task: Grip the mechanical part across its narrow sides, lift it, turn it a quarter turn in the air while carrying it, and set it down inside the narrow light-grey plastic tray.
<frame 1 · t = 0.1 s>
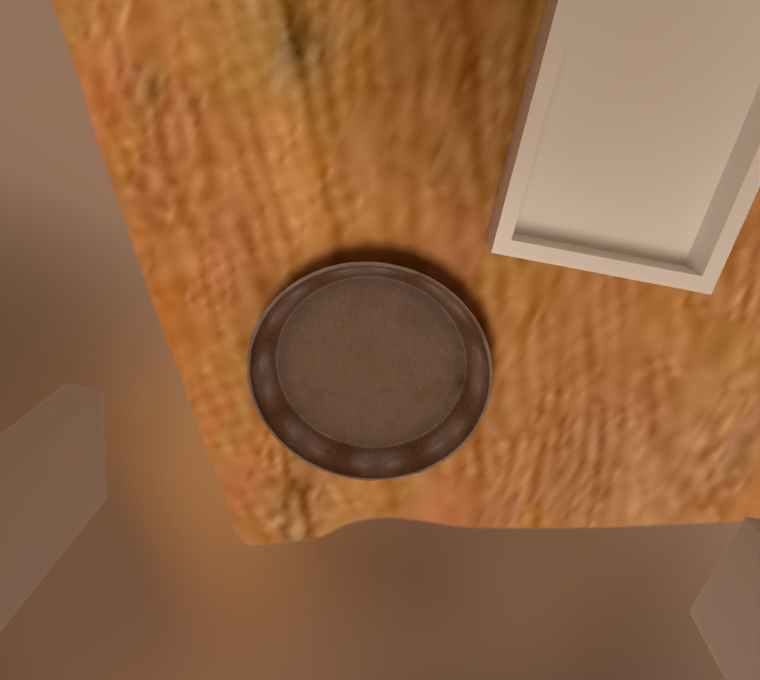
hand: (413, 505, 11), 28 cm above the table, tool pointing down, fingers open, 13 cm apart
plant saucer: (372, 362, 42), on the table
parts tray: (633, 118, 33), on the table
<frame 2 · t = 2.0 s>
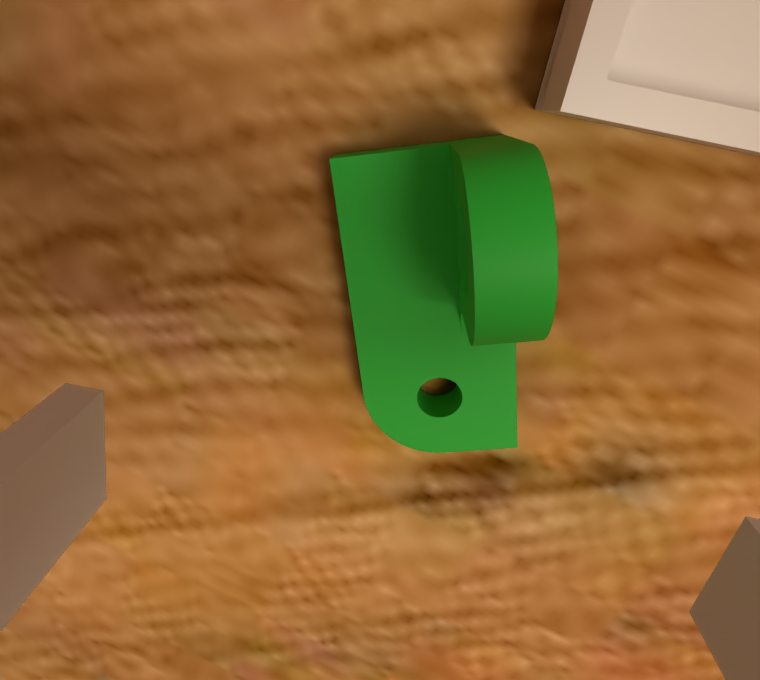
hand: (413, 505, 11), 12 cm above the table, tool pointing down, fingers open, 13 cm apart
mechanical part: (430, 298, 22), on the table
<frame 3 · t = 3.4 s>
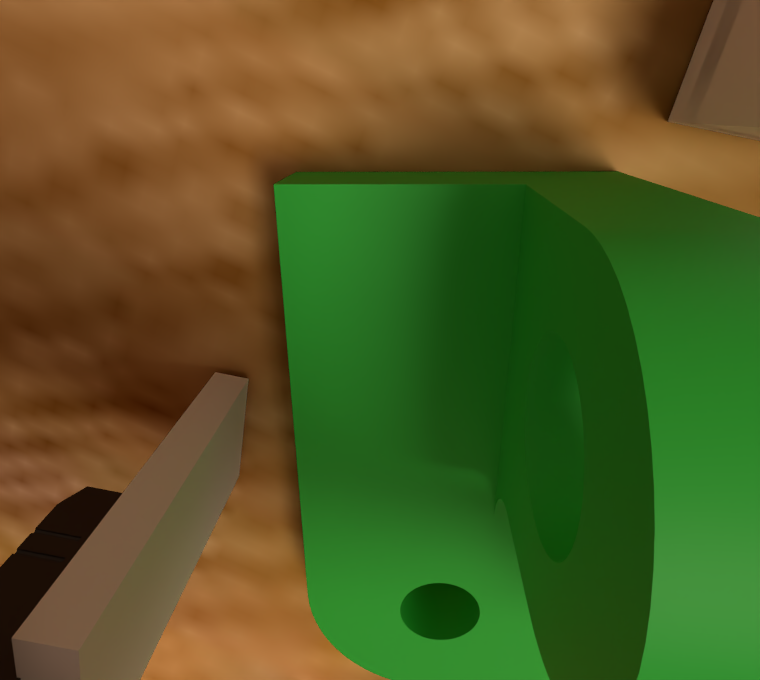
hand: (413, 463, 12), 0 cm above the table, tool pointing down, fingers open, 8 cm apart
mechanical part: (441, 431, 13), on the table, touching gripper
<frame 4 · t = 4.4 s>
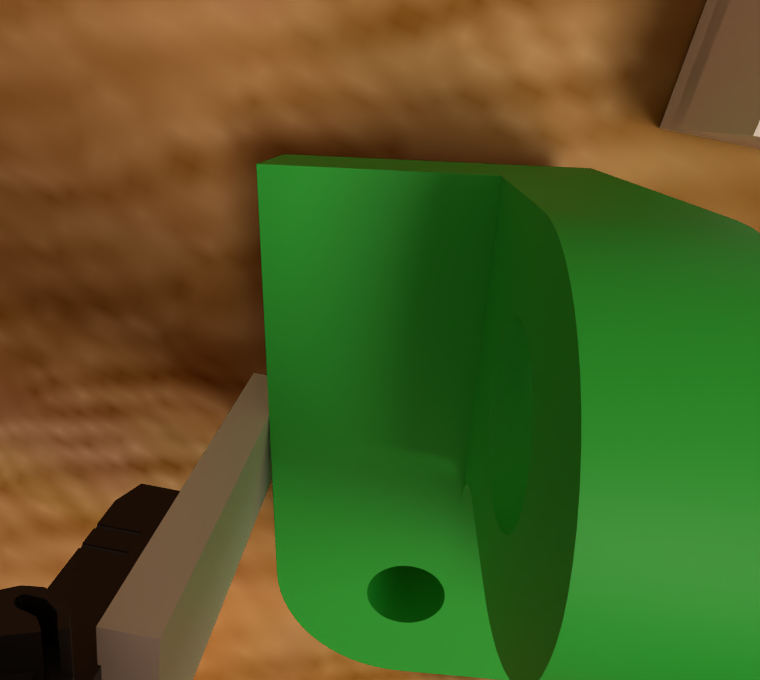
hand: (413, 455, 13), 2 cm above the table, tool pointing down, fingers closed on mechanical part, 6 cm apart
mechanical part: (415, 418, 13), point 1 cm above the table, touching gripper
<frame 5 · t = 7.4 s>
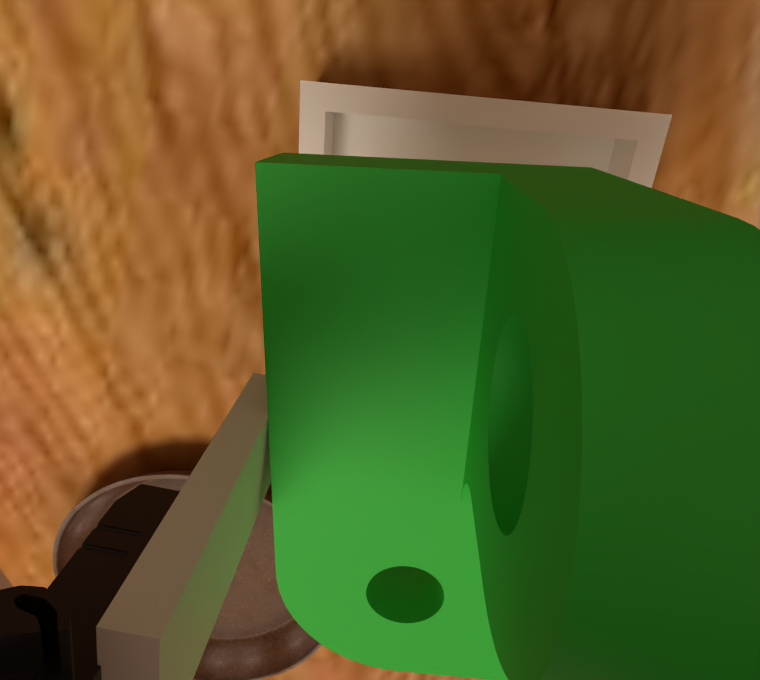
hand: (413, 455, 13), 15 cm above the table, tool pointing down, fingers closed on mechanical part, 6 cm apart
mechanical part: (415, 418, 13), point 15 cm above the table, touching gripper
plant saucer: (213, 552, 36), on the table
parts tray: (447, 293, 27), on the table
when the fingers open (3 cm above the table, at t = 10.3 s): mechanical part drops 2 cm, resting on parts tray.
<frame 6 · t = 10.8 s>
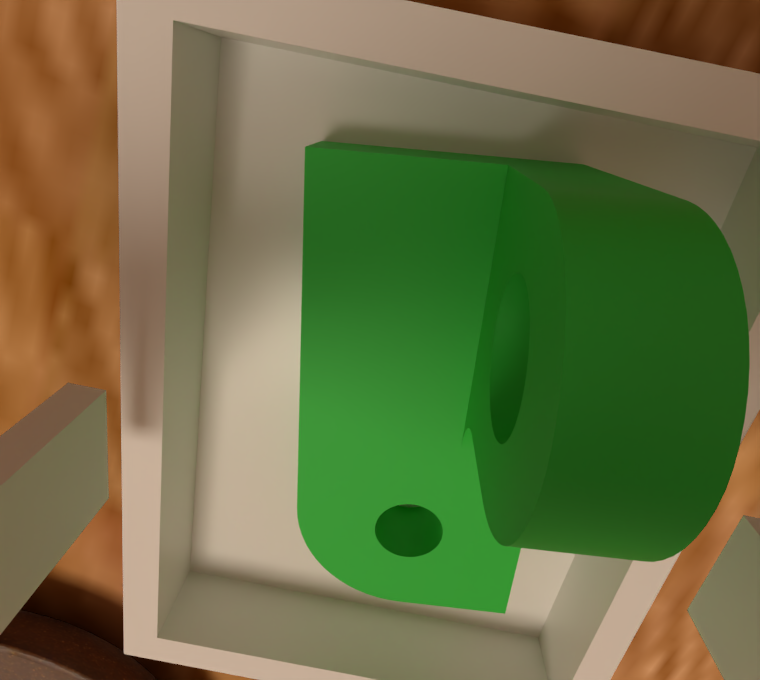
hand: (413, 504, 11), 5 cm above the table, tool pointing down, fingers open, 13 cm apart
mechanical part: (422, 379, 15), point 1 cm above the table, touching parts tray
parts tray: (414, 386, 16), on the table
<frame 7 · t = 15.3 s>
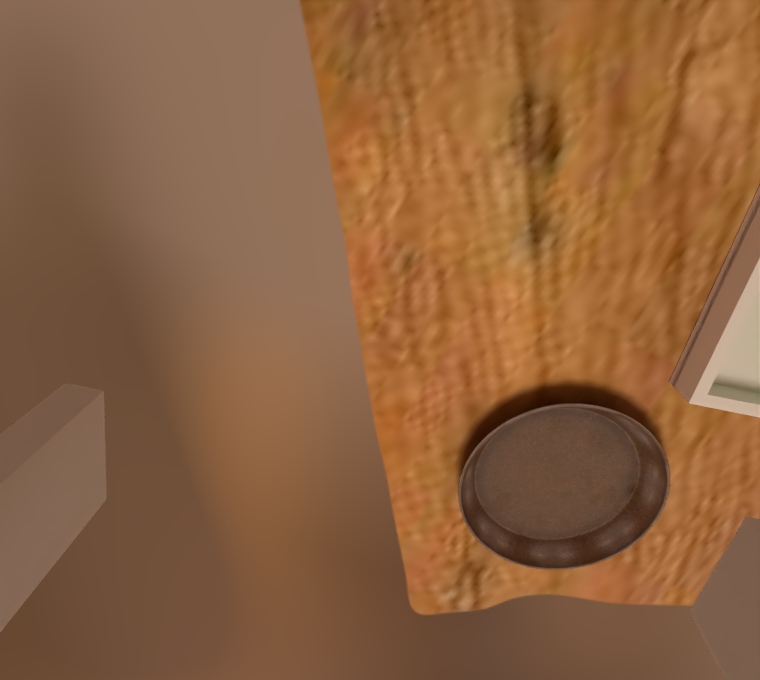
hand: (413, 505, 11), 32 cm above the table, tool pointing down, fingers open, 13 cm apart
plant saucer: (554, 471, 49), on the table
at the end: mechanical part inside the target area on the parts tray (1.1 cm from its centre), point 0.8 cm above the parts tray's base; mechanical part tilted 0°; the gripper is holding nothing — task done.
